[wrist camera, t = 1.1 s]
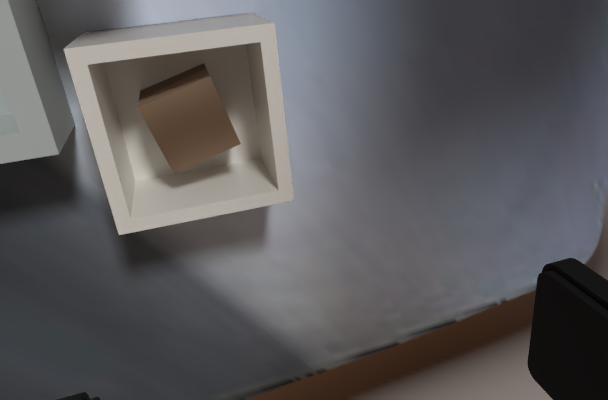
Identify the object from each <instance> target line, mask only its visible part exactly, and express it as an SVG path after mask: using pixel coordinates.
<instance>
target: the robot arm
mask: <svg viewBox="0 0 608 400" xmlns="http://www.w3.org/2000/svg"><path fill="white" fill-rule="evenodd" d="M528 368H529V371H530V373H531V375H532V377H533V378H534V380H535V381H536V382H537V383H538V384H539V385H540V386H541V387H542V388H543V389H544V390H545V391H546V392H547V394H548V395H549V396H550V397H551V398H552V399H553V400H608V280H606V279H604V278H603V277H602V276H600V275H599V274H597V273H596V272H594V271H593V270H591V269H590V268H588V267H587V266H585V265H584V264H582V263H581V262H579V261H578V260H576V259H574V258H568V259H564V260H561V261H557V262H553V263H550V264H547V265H545V266H544V267H543V270H542V273H540V274H539V275H538V279H537V288H536V296H535V304H534V313H533V321H532V331H531V339H530V347H529V356H528ZM58 400H100V398H99V397H95V398H92V399H90V398H89V396H88V394H87V393H86V392H83V393H79V394H76V395H72V396H69V397H65V398H61V399H58Z"/></svg>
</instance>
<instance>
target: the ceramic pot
mask: <svg viewBox="0 0 608 400" xmlns="http://www.w3.org/2000/svg"><path fill="white" fill-rule="evenodd" d="M64 53H65V56H66V59H67V63H68V66H69V70H70V73H71V76H72V80H73V83H74V86H75V90H76V93H77V96H78V100H79V103H80V106H81V110H82V113H83V117H84V120H85V123H86V127H87V130H88V133H89V137H90V140H91V143H92V147H93V150H94V153H95V157H96V160H97V164H98V167H99V170H100V174H101V177H102V180H103V184H104V187H105V190H106V194H107V197H108V200H109V204H110V207H111V211H112V214H113V217H114V221H115V224H116V227H117V231H118V234H119V235H123V234H128V233H133V232H138V231H143V230H148V229H153V228H158V227H163V226H168V225H173V224H178V223H183V222H188V221H193V220H198V219H204V218H209V217H214V216H219V215H224V214H229V213H234V212H239V211H244V210H249V209H254V208H259V207H264V206H269V205H274V204H279V203H284V202H290V201H294V197H293V187H292V178H291V169H290V160H289V150H288V141H287V132H286V123H285V113H284V104H283V95H282V86H281V76H280V67H279V58H278V49H277V39H276V30H275V23H274V22H272V21H270V20H268V19H266V18H263V17H261V16H259V15H257V14H255V13H245V14H237V15H228V16H220V17H212V18H203V19H195V20H186V21H178V22H170V23H161V24H153V25H144V26H136V27H127V28H119V29H111V30H102V31H94V32H85V33H82V34H81V35H80V36H78V37H77V38H76V39H75V40H74V41H72V42H71V43H70V44H69V45H68V46H66V47H65V48H64ZM203 63H204V64H205V66H206V69H207V71H208V73H209V75H210V77H211V79H212V82H213V84H214V86H215V88H216V90H217V93H218V95H219V97H220V99H221V101H222V103H223V106H224V108H225V110H226V112H227V114H228V117H229V119H230V121H231V123H232V125H233V128H234V130H235V132H236V134H237V136H238V139H239V141H240V143H241V144H240V145H237V146H235V147H233V148H231V149H228V150H226V151H224V152H222V153H219V154H217V155H215V156H213V157H210V158H208V159H206V160H204V161H201V162H199V163H197V164H195V165H192V166H190V167H188V168H186V169H183V170H181V171H179V172H177V173H173V171H172V169H171V168H170V166H169V164H168V162H167V160H166V158H165V157H164V155H163V153H162V151H161V149H160V148H159V146H158V144H157V142H156V140H155V139H154V137H153V135H152V133H151V131H150V129H149V128H148V126H147V124H146V122H145V120H144V119H143V117H142V115H141V113H140V111H139V109H138V102H139V95H140V90H143V89H145V88H147V87H150V86H152V85H154V84H157V83H159V82H161V81H164V80H166V79H168V78H171V77H173V76H175V75H178V74H180V73H182V72H185V71H187V70H189V69H192V68H194V67H196V66H199V65H201V64H203Z"/></svg>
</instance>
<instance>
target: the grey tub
mask: <svg viewBox="0 0 608 400" xmlns="http://www.w3.org/2000/svg"><path fill="white" fill-rule="evenodd" d="M74 126H75V123H74V120H73V117H72V114H71V110H70V107H69V104H68V101H67V97H66V94H65V91H64V88H63V84H62V81H61V78H60V75H59V72H58V68H57V65H56V62H55V59H54V55H53V52H52V49H51V46H50V42H49V39H48V36H47V33H46V29H45V26H44V23H43V20H42V16H41V13H40V10H39V7H38V3H37V0H0V164H3V163H9V162H15V161H21V160H27V159H34V158H40V157H46V156H52V155H58V154H60V152H61V150H62V148H63V146H64V144H65V143H66V141H67V139H68V137H69V135H70V133H71V131H72V130H73V128H74Z"/></svg>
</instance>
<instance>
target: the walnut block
mask: <svg viewBox="0 0 608 400" xmlns="http://www.w3.org/2000/svg"><path fill="white" fill-rule="evenodd" d="M138 109H139V111H140V113H141V115H142V117H143V119H144V120H145V122H146V124H147V126H148V128H149V129H150V131H151V133H152V135H153V137H154V139H155V140H156V142H157V144H158V146H159V148H160V149H161V151H162V153H163V155H164V157H165V158H166V160H167V162H168V164H169V166H170V168H171V169H172V171H173V173H177V172H179V171H181V170H183V169H186V168H188V167H190V166H192V165H195V164H197V163H199V162H201V161H204V160H206V159H208V158H210V157H213V156H215V155H217V154H219V153H222V152H224V151H226V150H228V149H231V148H233V147H235V146H237V145H240V144H241V143H240V141H239V139H238V136H237V134H236V132H235V130H234V128H233V125H232V123H231V121H230V119H229V117H228V114H227V112H226V110H225V108H224V106H223V103H222V101H221V99H220V97H219V95H218V93H217V90H216V88H215V86H214V84H213V82H212V79H211V77H210V75H209V73H208V71H207V69H206V66H205V64H204V63H203V64H201V65H199V66H196V67H194V68H192V69H189V70H187V71H185V72H182V73H180V74H178V75H175V76H173V77H171V78H168V79H166V80H164V81H161V82H159V83H157V84H154V85H152V86H150V87H147V88H145V89H143V90H140V95H139V102H138Z"/></svg>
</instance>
